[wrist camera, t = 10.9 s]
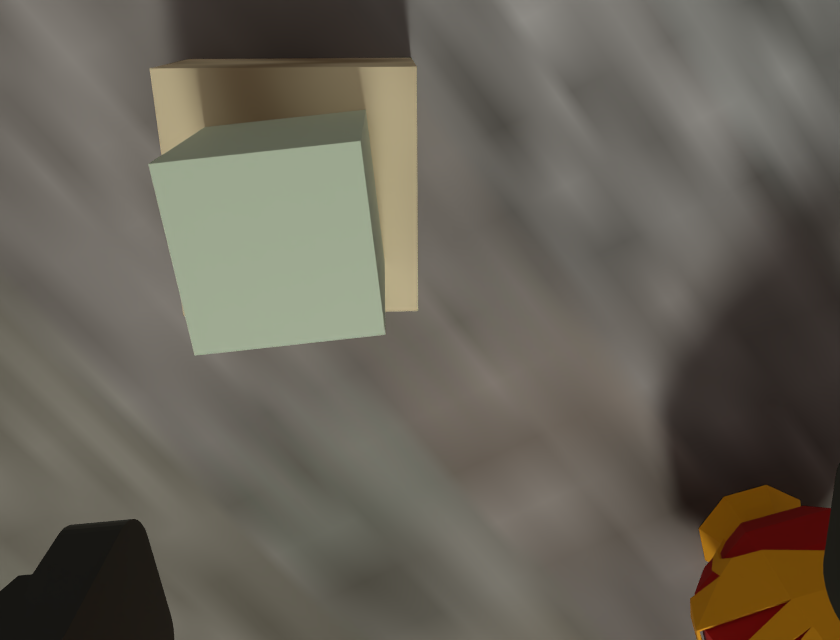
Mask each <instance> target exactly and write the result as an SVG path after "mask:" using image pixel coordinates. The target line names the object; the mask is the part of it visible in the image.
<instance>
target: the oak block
mask: <svg viewBox="0 0 840 640" xmlns="http://www.w3.org/2000/svg"><path fill="white" fill-rule="evenodd" d="M150 74H151V82H152V89H153V96H154V103H155V111H156V118H157V125H158V133H159V140H160V147H161V155H163V154H165V153H166V152H168V151H169V150H171V149H172V148H174V147H175V146H177V145H178V144H180V143H181V142H183V141H184V140H186V139H187V138H189V137H190V136H192V135H194V134H195V133H197V132H198V131H200V130H201V129H203V128H204V127H209V126H219V125H228V124H237V123H246V122H255V121H265V120H274V119H283V118H292V117H301V116H311V115H320V114H329V113H338V112H348V111H357V110H366V115H367V123H368V131H369V139H370V147H371V155H372V163H373V171H374V179H375V187H376V195H377V203H378V211H379V219H380V228H381V236H382V244H383V252H384V260H385V311H418V238H417V66H416V65H415V63H414V62H413V60H412V59H411V58H283V59H186V60H182V61H178V62H174V63H170V64H166V65H162V66H158V67H154V68H150ZM182 309H183V305H182ZM183 316H185V314H184V309H183Z"/></svg>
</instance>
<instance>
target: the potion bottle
mask: <svg viewBox="0 0 840 640" xmlns="http://www.w3.org/2000/svg"><path fill="white" fill-rule="evenodd" d="M830 512H831V508H822V507H811V506H801V502H800V500H799V499H796V498H794V497H792V496H790V495H788V494H786V493H783V492H781V491H779V490H777V489H775V488H773V487H770V486H768V485H764V486H760V487H757V488H753V489H750V490H746V491H742V492H739V493H735V494H732V495H728V496H725V497H723V498H722V500H721V501H720V502H719V504H718V505H717V506H716V507H715V509H714V510H713V511H712V512H711V514H710V515H709V516H708V517H707V519H706V520H705V521H704V522H703V524H702V525H701V526H700V528H699V532H700V537H701V542H702V547H703V552H704V557H705V560H706V561H708V562H709V563H708V564H707V565H706V566H705V568H704V570H703V572H702V575H701V578H700V581H699V583H698V586H697V589H696V592H695V595H694V596H693V597H692V598H690V608H691V619H692V623H693V627H694V631H695V635H696V638H697V640H702V638H701V635H700V631H702V630H703V635H704V639H705V640H840V620H839V619H838V617H837V615H836V613H835V612H834V610H833V607H832V605H831V603H830V600H829V597H828V594H827V590H826V587H825V582H824V575H823V560H824V553H825V546H826V539H827V532H828V525H829V519H830Z"/></svg>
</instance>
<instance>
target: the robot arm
mask: <svg viewBox="0 0 840 640" xmlns="http://www.w3.org/2000/svg"><path fill="white" fill-rule="evenodd" d="M823 575H824V582H825V587H826V590H827V594H828V597H829V600H830V603H831V605H832V607H833V610H834V612H835V613H836V615H837V617H838V619H839V620H840V463H839V466H838V468H837V472H836V478H835V485H834V492H833V498H832V505H831V512H830V519H829V525H828V532H827V539H826V546H825V553H824V560H823ZM0 640H174V629H173V622H172V618H171V614H170V611H169V607H168V604H167V601H166V597H165V594H164V590H163V587H162V584H161V580H160V577H159V573H158V570H157V567H156V563H155V560H154V556H153V553H152V550H151V546H150V543H149V539H148V536H147V533H146V530H145V528H144V527H143V525H142V524H141V522H139V521H138V520H136V519H129V520H118V521H108V522H97V523H86V524H75V525H69V526H67V527H65V528H64V529H63V530H62V531H61V532H60V533H59V535H58V536H57V538H56V539H55V541H54V542H53V544H52V545H51V547H50V548H49V550H48V551H47V553H46V554H45V556H44V558H43V559H42V561H41V562H40V564H39V565H38V567H37V568H36V570H35V571H34V573H33V574H31V575H21V576H18V577H16V578H15V579H14V580H13V581H12V582H10V583H9V584H8V585H7V586H6V587H5V588H3V589H2V590H1V591H0Z"/></svg>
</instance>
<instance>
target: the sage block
mask: <svg viewBox="0 0 840 640" xmlns="http://www.w3.org/2000/svg"><path fill="white" fill-rule="evenodd" d="M148 165H149V169H150V173H151V177H152V181H153V185H154V189H155V194H156V198H157V202H158V206H159V210H160V214H161V218H162V223H163V227H164V231H165V235H166V239H167V243H168V247H169V251H170V256H171V260H172V264H173V268H174V272H175V276H176V280H177V285H178V289H179V293H180V297H181V301H182V305H183V309H184V314H185V318H186V322H187V326H188V330H189V334H190V338H191V342H192V347H193V351H194V355H204V354H213V353H222V352H231V351H240V350H249V349H259V348H268V347H277V346H286V345H295V344H304V343H313V342H322V341H331V340H340V339H350V338H359V337H368V336H377V335H385V260H384V252H383V244H382V236H381V228H380V219H379V211H378V203H377V195H376V187H375V179H374V171H373V163H372V155H371V147H370V139H369V131H368V123H367V115H366V110H357V111H348V112H338V113H329V114H320V115H311V116H301V117H292V118H283V119H274V120H265V121H255V122H246V123H237V124H228V125H219V126H209V127H204V128H203V129H201V130H200V131H198V132H197V133H195V134H194V135H192V136H190V137H189V138H187V139H186V140H184V141H183V142H181V143H180V144H178V145H177V146H175V147H174V148H172V149H171V150H169V151H168V152H166V153H165V154H163V155H161V156H160V157H158V158H157V159H155V160H154V161H152V162H151V163H149V164H148Z"/></svg>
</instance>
